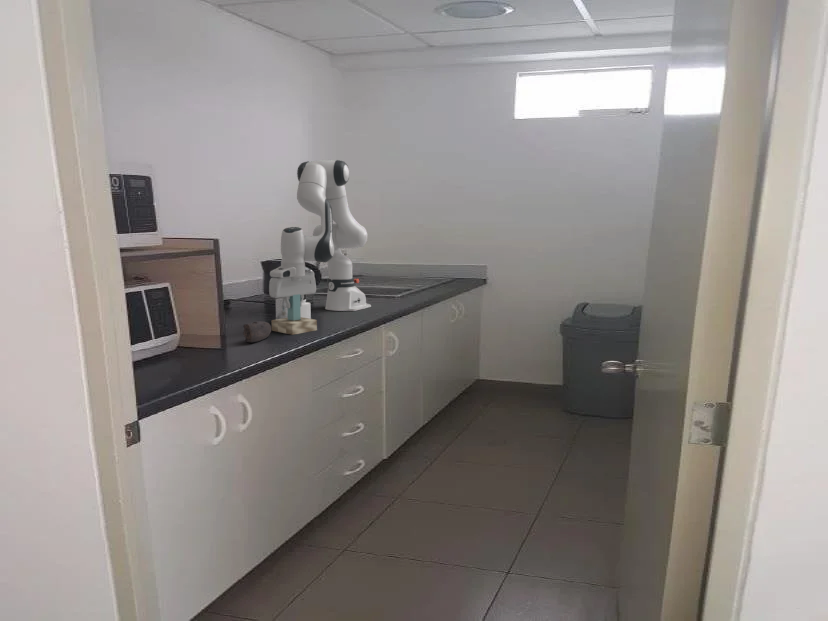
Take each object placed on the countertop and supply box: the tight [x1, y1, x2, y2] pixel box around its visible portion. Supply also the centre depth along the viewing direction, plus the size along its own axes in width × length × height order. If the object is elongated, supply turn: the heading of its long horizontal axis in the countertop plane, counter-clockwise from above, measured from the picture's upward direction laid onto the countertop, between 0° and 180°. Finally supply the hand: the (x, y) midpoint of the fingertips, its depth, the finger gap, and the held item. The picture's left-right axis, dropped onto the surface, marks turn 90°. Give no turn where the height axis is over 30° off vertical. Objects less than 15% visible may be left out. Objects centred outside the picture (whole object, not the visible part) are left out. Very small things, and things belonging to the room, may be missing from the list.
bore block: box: [271, 317, 318, 336], centre depth 240 cm, size 12×12×4 cm
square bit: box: [288, 294, 301, 321], centre depth 239 cm, size 3×3×10 cm
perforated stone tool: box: [242, 320, 272, 344], centre depth 221 cm, size 15×5×7 cm, turn 158°
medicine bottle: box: [300, 294, 312, 319], centre depth 262 cm, size 7×7×12 cm
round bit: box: [275, 297, 288, 320], centre depth 253 cm, size 5×5×10 cm
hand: (293, 307), depth 239 cm, fingers closed on square bit, 3 cm apart
